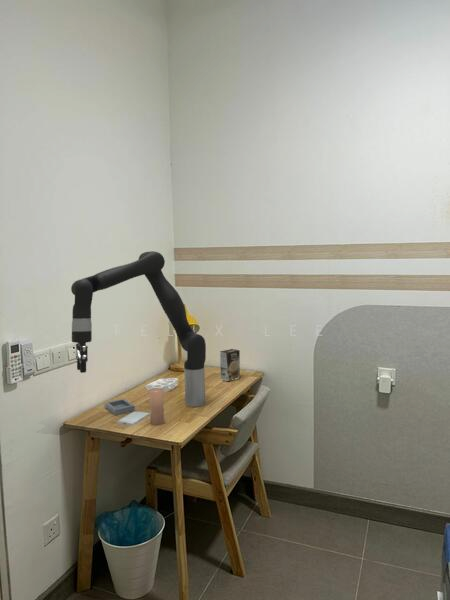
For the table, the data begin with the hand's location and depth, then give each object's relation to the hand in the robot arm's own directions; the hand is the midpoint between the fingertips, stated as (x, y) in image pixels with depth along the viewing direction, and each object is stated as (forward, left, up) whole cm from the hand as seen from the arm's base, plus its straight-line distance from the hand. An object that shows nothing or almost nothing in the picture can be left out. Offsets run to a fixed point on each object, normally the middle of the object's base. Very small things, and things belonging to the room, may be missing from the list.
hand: (81, 371), depth 176 cm
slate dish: (-26, +1, -25) cm, 36 cm away
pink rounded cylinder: (-15, +25, -25) cm, 38 cm away
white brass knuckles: (-60, +8, -26) cm, 65 cm away
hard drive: (-16, +13, -26) cm, 33 cm away
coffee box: (-81, +39, -25) cm, 93 cm away
